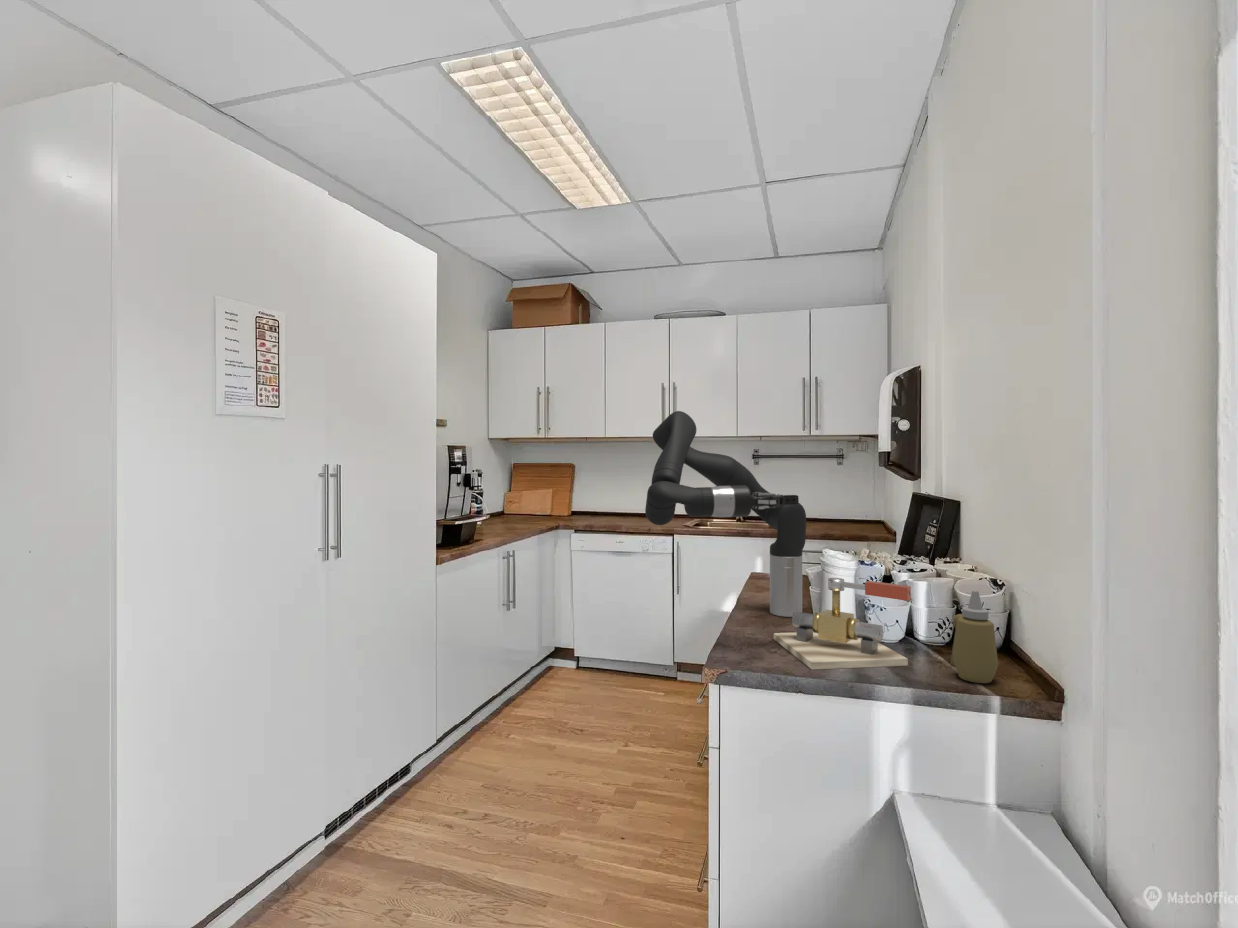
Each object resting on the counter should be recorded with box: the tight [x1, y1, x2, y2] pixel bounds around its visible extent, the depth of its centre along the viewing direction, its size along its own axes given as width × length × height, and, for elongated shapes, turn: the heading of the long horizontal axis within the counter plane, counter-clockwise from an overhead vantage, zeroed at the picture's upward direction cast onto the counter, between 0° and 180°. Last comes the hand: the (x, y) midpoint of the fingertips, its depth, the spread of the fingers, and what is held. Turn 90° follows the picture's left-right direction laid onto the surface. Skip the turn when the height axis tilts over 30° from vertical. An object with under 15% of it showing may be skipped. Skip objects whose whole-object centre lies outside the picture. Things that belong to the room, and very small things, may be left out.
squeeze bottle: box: [953, 590, 999, 684], centre depth 122 cm, size 8×8×18 cm
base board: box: [773, 631, 909, 670], centre depth 140 cm, size 22×22×2 cm
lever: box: [827, 577, 912, 602], centre depth 135 cm, size 18×4×3 cm, turn 49°
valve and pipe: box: [791, 590, 884, 655], centre depth 140 cm, size 20×6×13 cm, turn 52°
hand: (797, 499), depth 145 cm, fingers closed
